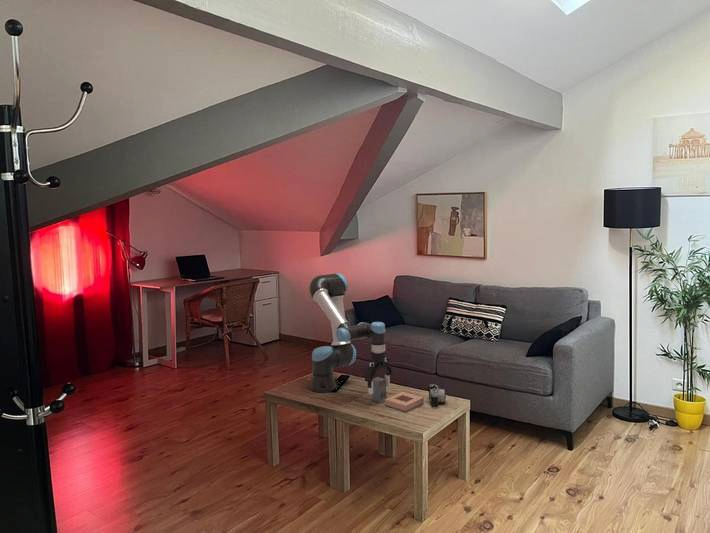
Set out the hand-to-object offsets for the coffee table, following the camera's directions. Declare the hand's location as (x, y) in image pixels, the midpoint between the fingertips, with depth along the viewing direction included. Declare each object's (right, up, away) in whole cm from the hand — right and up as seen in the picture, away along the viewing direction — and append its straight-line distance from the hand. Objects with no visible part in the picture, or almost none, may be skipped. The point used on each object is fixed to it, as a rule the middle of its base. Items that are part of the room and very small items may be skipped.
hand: (379, 390), depth 310 cm
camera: (+30, -6, -4) cm, 31 cm away
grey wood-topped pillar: (0, -6, +1) cm, 6 cm away
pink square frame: (+13, -7, -6) cm, 16 cm away
